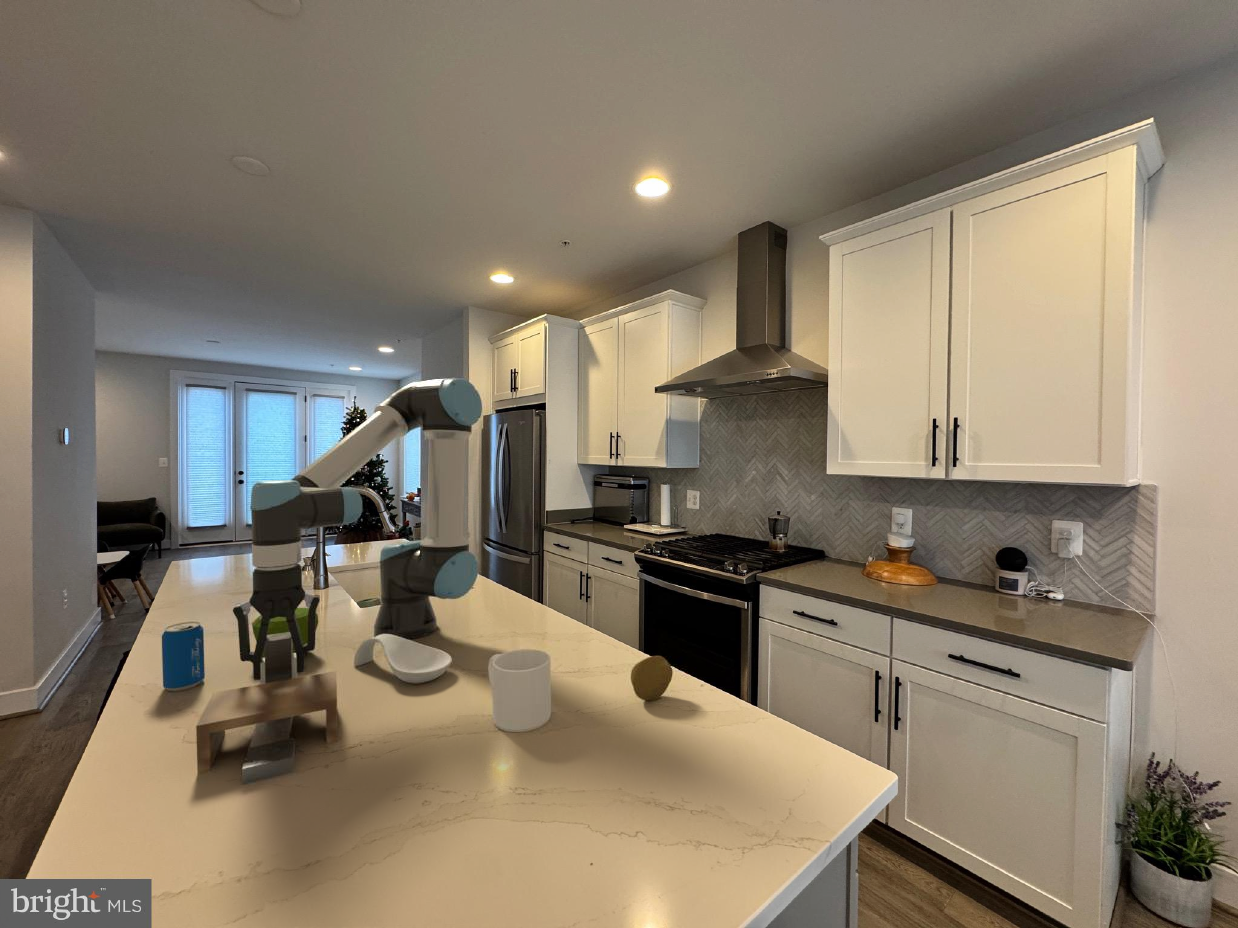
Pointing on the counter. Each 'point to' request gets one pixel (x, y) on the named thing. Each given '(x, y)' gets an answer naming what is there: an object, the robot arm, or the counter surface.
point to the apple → (285, 625)
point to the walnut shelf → (264, 709)
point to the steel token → (268, 761)
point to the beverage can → (183, 656)
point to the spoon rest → (406, 658)
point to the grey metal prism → (275, 670)
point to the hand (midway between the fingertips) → (280, 692)
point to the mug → (520, 689)
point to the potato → (651, 677)
